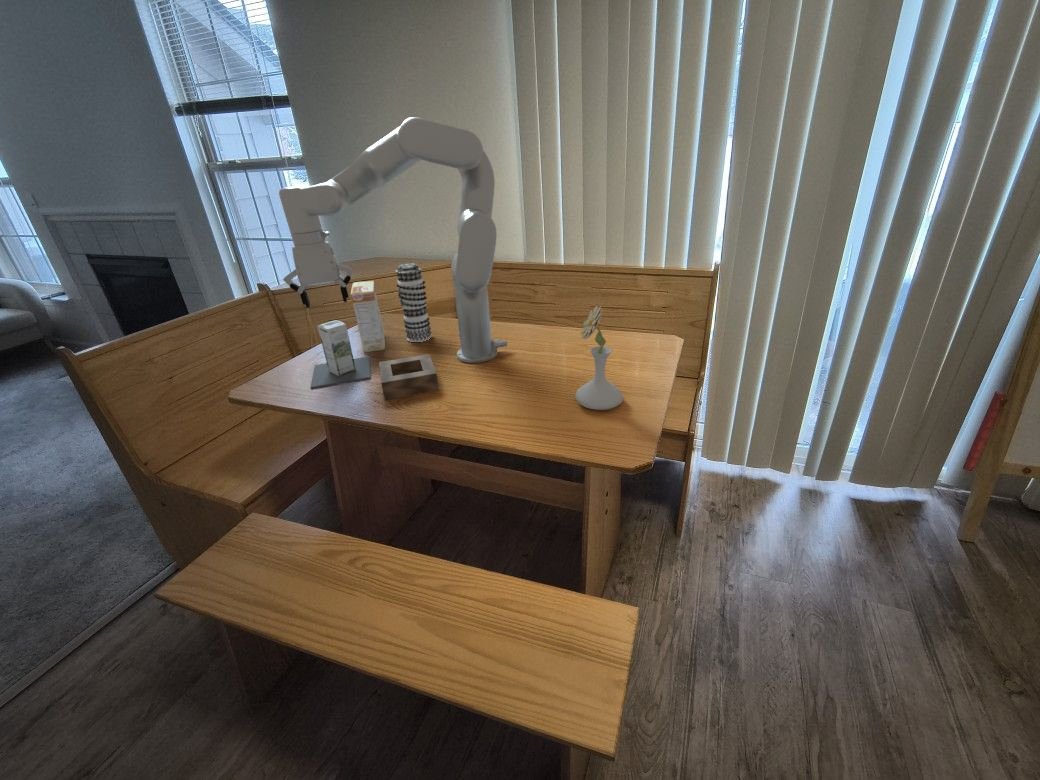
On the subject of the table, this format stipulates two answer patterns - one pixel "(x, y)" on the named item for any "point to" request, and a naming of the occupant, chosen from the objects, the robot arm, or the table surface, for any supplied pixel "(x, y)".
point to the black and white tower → (413, 302)
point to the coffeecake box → (368, 316)
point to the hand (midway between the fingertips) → (327, 303)
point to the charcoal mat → (328, 379)
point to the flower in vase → (598, 371)
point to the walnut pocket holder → (408, 376)
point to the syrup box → (337, 347)
